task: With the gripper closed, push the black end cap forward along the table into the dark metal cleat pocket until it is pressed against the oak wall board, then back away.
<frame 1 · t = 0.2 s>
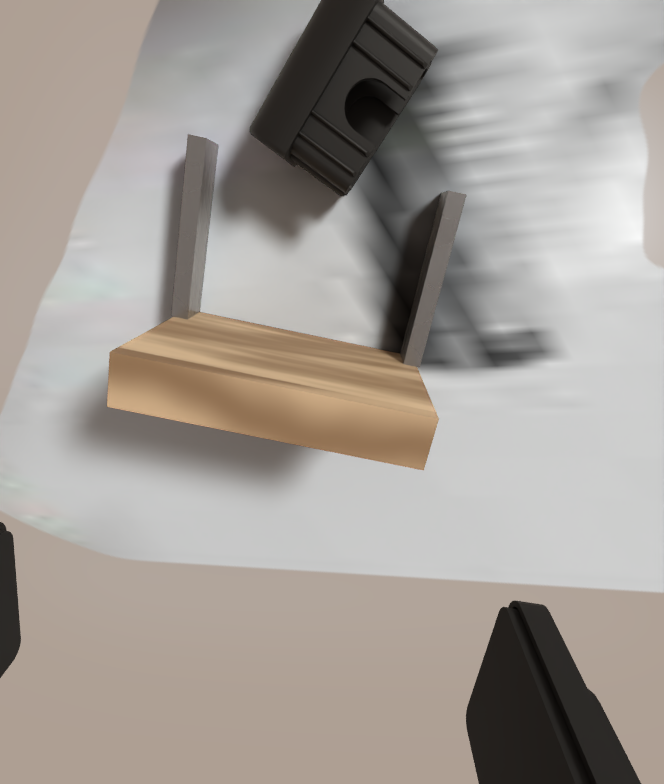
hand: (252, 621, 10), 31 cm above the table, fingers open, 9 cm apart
cleat pocket: (314, 255, 37), on the table
end cap: (342, 106, 34), on the table
wall board: (298, 342, 39), on the table
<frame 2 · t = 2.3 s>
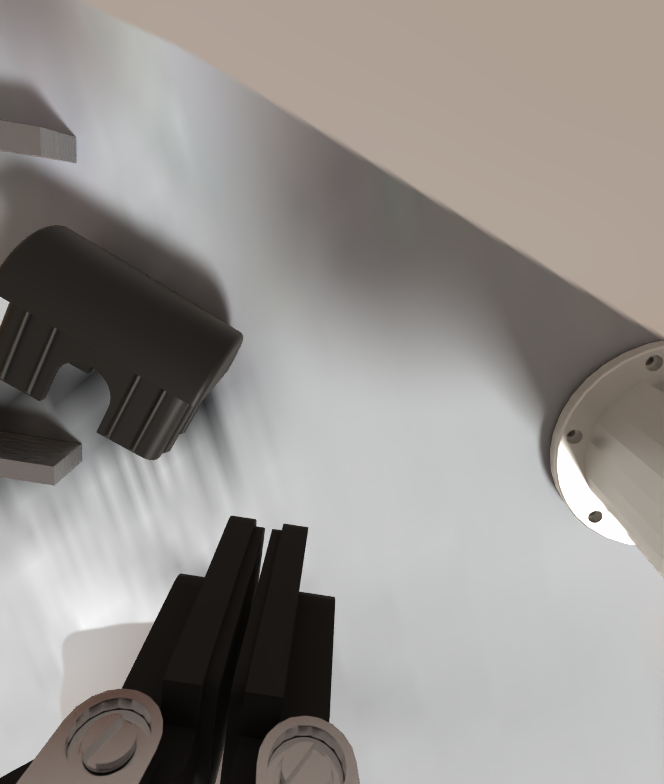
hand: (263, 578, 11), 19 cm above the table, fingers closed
end cap: (151, 326, 28), on the table
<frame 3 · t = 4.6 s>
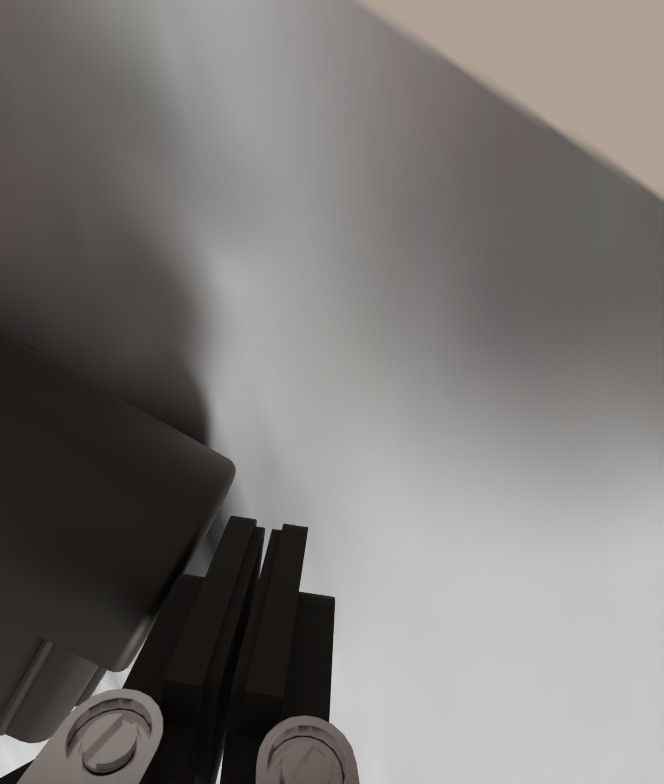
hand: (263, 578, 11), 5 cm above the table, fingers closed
end cap: (72, 426, 16), on the table, touching gripper
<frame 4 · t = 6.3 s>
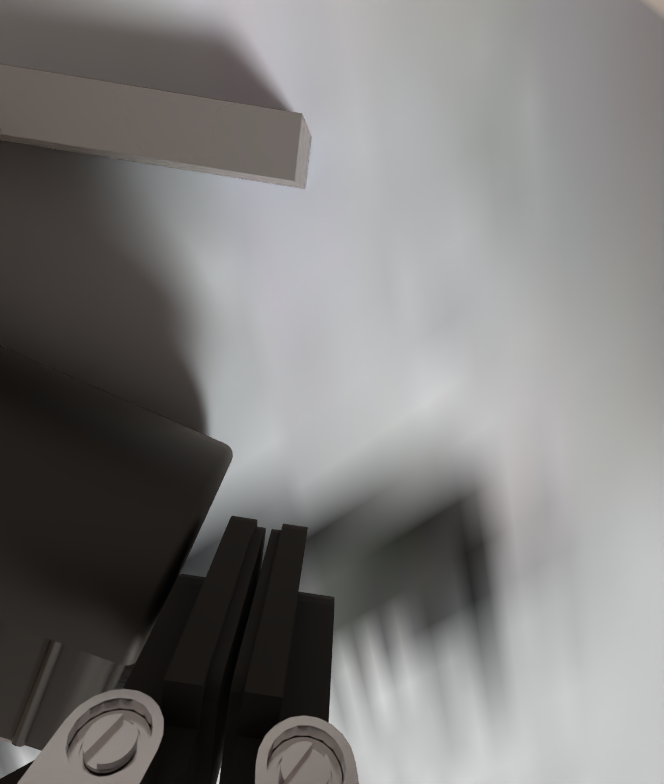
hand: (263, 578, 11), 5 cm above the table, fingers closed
cleat pocket: (76, 437, 15), on the table
end cap: (65, 432, 15), on the table, touching gripper, wall board
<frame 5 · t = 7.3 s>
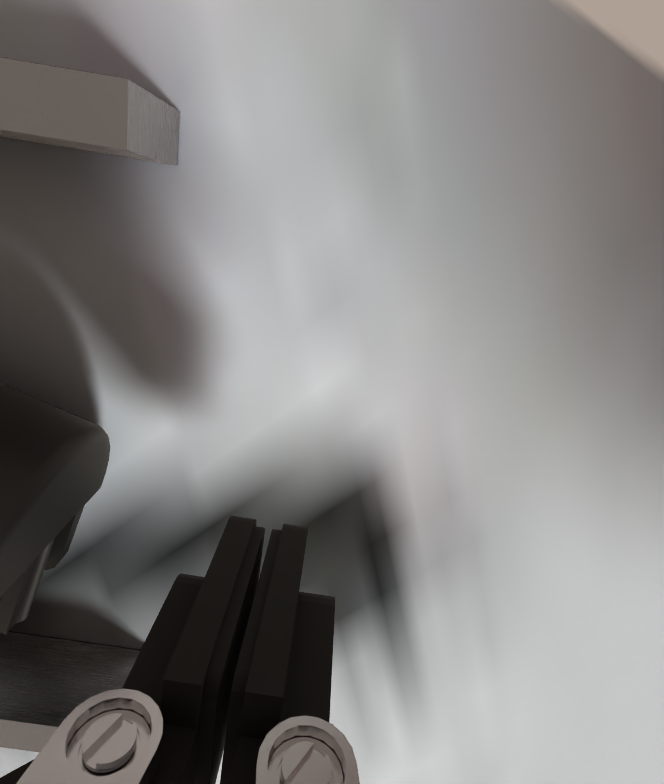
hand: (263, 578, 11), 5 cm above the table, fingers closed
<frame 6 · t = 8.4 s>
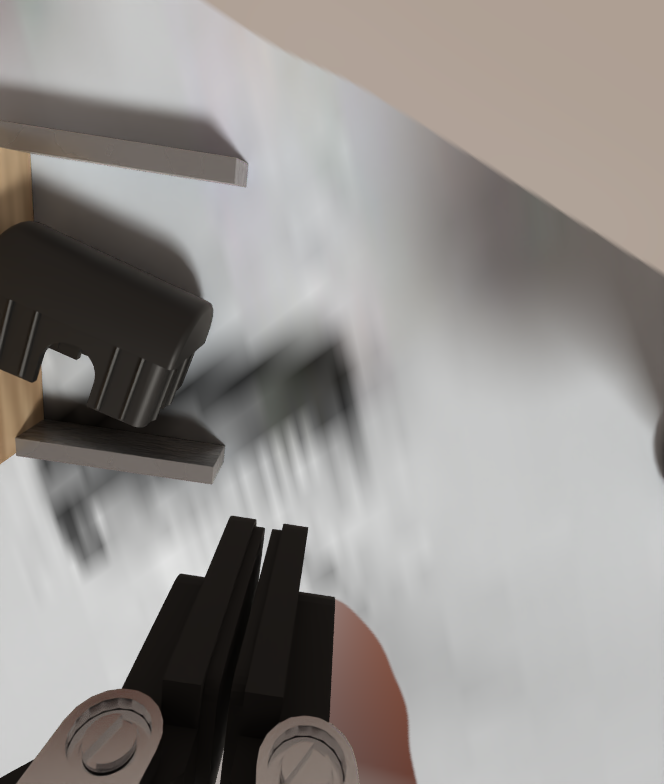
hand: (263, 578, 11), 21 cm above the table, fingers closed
cleat pocket: (136, 312, 30), on the table
end cap: (130, 310, 30), on the table
wall board: (24, 295, 30), on the table
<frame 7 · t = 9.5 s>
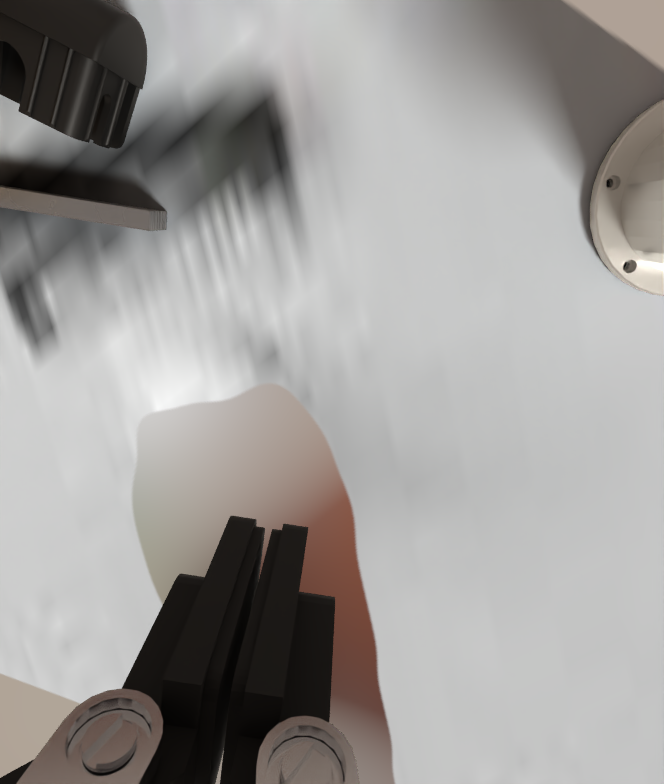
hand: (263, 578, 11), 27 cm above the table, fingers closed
cleat pocket: (77, 63, 31), on the table
end cap: (72, 63, 32), on the table
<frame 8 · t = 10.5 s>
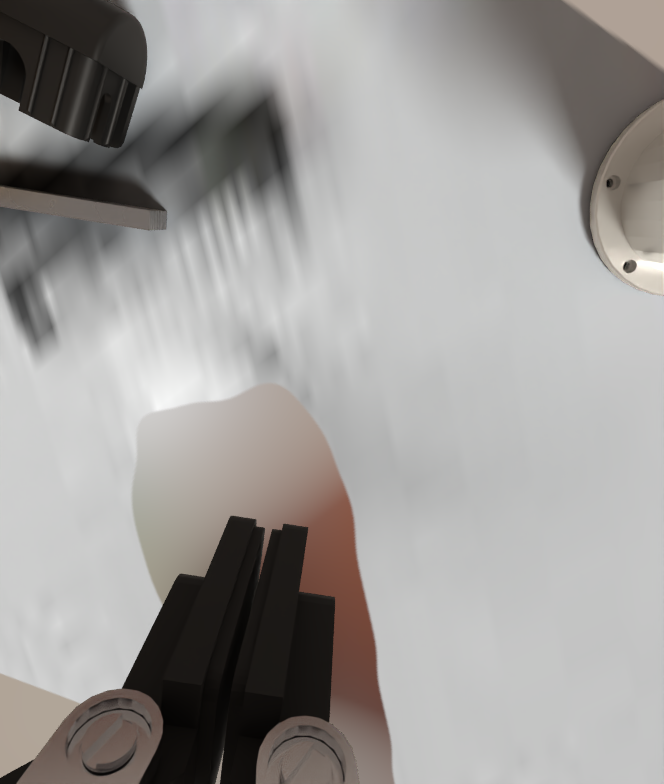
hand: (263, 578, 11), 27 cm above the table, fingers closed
cleat pocket: (77, 62, 31), on the table
end cap: (72, 62, 32), on the table
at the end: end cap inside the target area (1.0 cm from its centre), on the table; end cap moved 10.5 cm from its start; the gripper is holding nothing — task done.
